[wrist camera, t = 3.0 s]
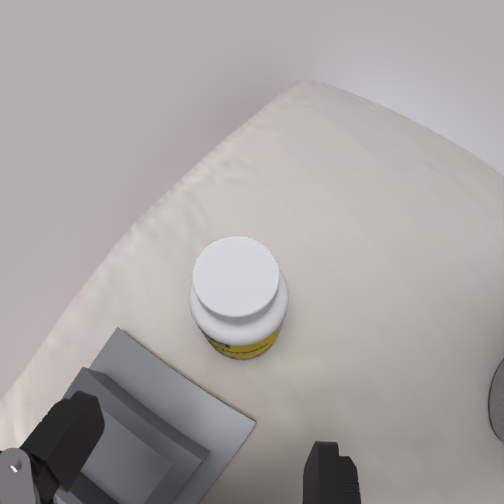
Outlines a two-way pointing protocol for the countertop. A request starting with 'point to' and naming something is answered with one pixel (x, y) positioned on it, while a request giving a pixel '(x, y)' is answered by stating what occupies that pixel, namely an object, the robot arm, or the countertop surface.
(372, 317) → the countertop surface
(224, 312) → the supplement bottle
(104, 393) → the gray socket holder
